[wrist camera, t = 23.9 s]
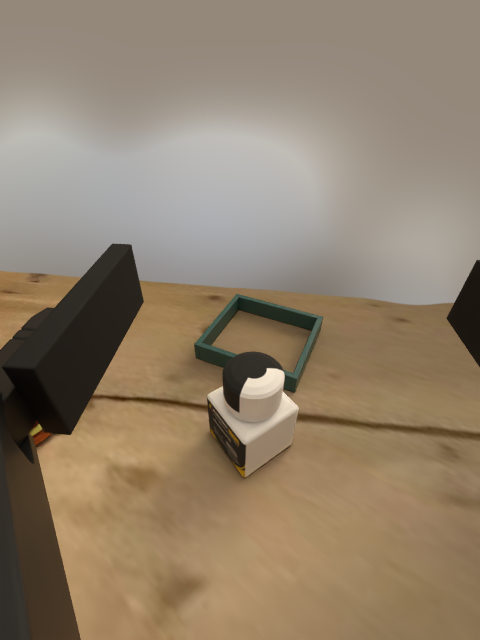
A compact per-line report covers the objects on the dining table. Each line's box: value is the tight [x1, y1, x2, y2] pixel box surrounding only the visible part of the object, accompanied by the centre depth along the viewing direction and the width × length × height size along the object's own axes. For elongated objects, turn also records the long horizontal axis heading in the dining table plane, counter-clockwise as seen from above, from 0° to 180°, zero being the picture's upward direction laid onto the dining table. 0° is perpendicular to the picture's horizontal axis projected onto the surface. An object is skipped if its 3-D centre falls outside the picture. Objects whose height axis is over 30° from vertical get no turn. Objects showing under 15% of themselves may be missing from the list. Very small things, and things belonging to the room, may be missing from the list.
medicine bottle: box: [207, 352, 299, 477], centre depth 35 cm, size 7×7×12 cm
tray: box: [194, 294, 323, 392], centre depth 50 cm, size 16×15×3 cm
